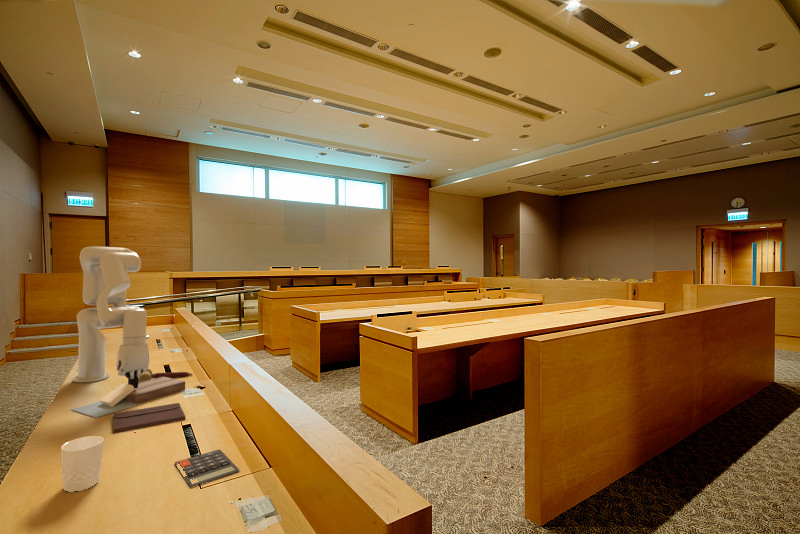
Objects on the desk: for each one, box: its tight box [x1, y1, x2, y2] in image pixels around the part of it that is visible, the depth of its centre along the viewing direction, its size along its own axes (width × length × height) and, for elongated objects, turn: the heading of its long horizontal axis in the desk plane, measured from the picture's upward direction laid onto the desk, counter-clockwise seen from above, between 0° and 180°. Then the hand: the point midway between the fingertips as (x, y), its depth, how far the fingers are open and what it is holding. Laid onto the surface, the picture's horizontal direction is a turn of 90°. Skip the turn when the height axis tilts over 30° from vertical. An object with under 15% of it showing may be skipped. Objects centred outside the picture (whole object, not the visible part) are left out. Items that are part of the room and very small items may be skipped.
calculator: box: [174, 449, 240, 488], centre depth 103 cm, size 12×1×15 cm
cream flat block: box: [99, 382, 135, 407], centre depth 146 cm, size 6×9×2 cm, turn 155°
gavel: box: [139, 368, 194, 383], centre depth 179 cm, size 21×5×10 cm
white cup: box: [60, 435, 104, 493], centre depth 93 cm, size 8×8×10 cm
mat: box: [71, 400, 139, 419], centre depth 142 cm, size 15×14×1 cm
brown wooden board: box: [112, 377, 186, 405], centre depth 158 cm, size 14×20×4 cm
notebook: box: [112, 402, 186, 434], centre depth 133 cm, size 15×20×2 cm
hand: (133, 387), depth 151 cm, fingers closed
